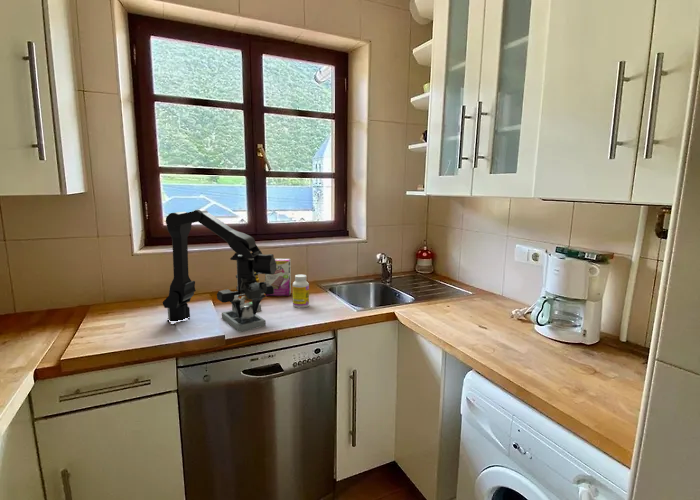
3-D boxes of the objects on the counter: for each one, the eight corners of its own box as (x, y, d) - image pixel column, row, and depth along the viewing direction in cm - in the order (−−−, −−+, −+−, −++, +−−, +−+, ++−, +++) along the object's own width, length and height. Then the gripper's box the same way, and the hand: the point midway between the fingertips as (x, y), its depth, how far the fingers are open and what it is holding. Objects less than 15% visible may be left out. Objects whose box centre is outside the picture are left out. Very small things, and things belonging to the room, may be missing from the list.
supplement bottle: (307, 308, 154) (307, 277, 152) (291, 308, 154) (291, 277, 152) (309, 303, 161) (309, 273, 159) (294, 303, 161) (293, 273, 159)
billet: (238, 324, 135) (237, 305, 133) (250, 321, 137) (249, 303, 136) (243, 328, 131) (242, 308, 130) (256, 325, 134) (254, 306, 133)
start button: (250, 311, 148) (250, 304, 148) (247, 309, 150) (247, 302, 150) (257, 310, 150) (257, 303, 149) (254, 308, 152) (254, 301, 151)
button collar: (249, 314, 147) (248, 307, 146) (244, 311, 151) (243, 303, 150) (261, 311, 150) (261, 304, 149) (256, 308, 154) (255, 301, 153)
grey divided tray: (239, 333, 128) (239, 326, 128) (221, 319, 141) (221, 312, 141) (265, 327, 134) (265, 320, 133) (246, 314, 147) (246, 307, 147)
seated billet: (235, 321, 137) (234, 302, 136) (230, 318, 141) (229, 299, 140) (247, 319, 140) (246, 300, 139) (242, 315, 144) (241, 297, 142)
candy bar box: (265, 296, 170) (264, 260, 168) (266, 293, 175) (265, 258, 173) (290, 296, 171) (289, 260, 168) (291, 293, 176) (290, 258, 173)
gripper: (227, 281, 119) (229, 328, 122) (281, 273, 130) (281, 317, 133) (215, 274, 128) (217, 319, 130) (266, 267, 139) (267, 308, 142)
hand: (247, 316), depth 134 cm, fingers open, 5 cm apart
